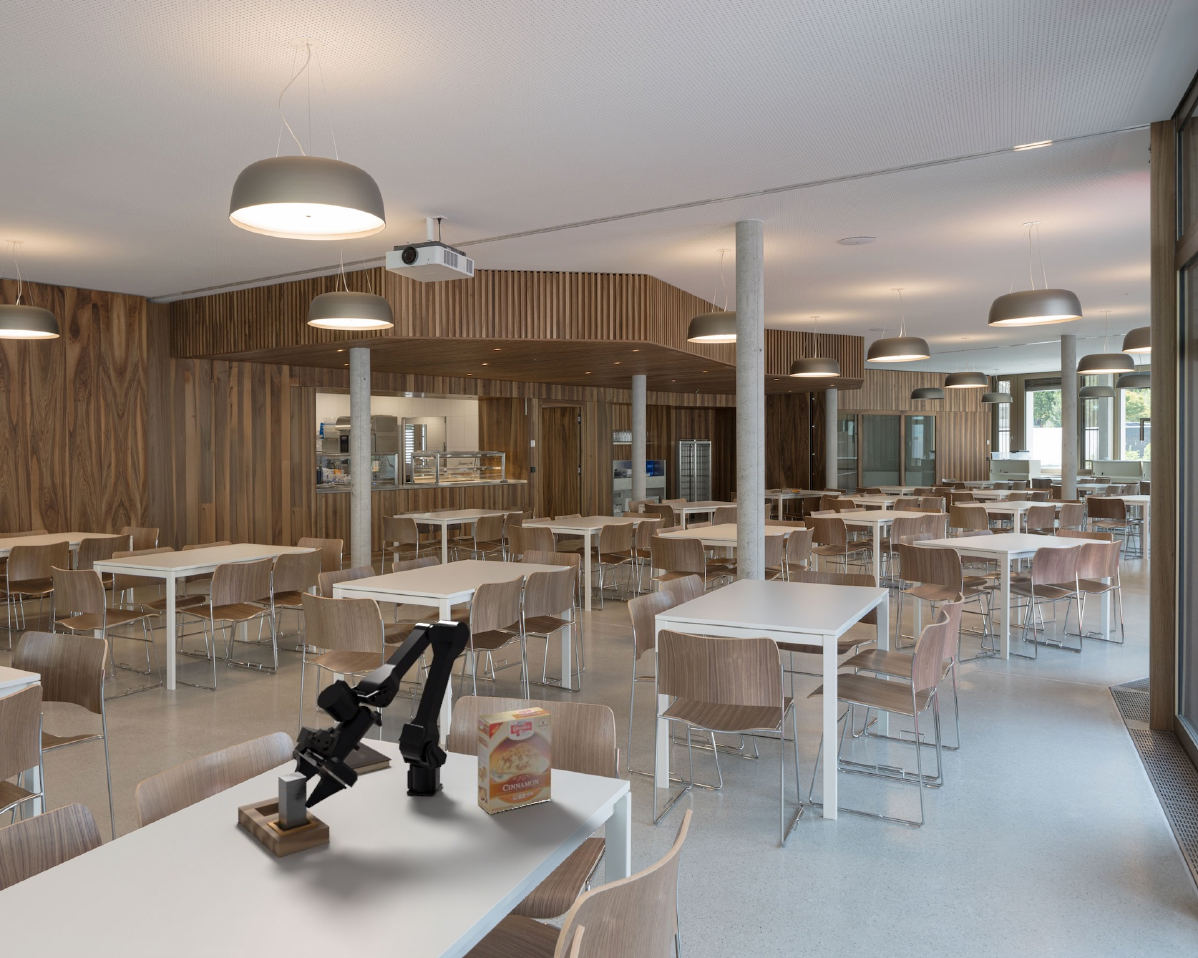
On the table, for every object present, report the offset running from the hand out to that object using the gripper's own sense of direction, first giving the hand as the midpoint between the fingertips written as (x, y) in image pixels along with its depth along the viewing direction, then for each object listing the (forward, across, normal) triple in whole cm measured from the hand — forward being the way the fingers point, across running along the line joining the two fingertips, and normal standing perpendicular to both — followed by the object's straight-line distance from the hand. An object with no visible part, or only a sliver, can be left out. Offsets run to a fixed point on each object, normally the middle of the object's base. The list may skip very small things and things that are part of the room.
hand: (297, 800), depth 166 cm
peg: (+6, 0, +5) cm, 8 cm away
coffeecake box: (-24, +14, +36) cm, 46 cm away
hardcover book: (-12, -37, +24) cm, 46 cm away
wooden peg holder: (+6, -5, +5) cm, 9 cm away
